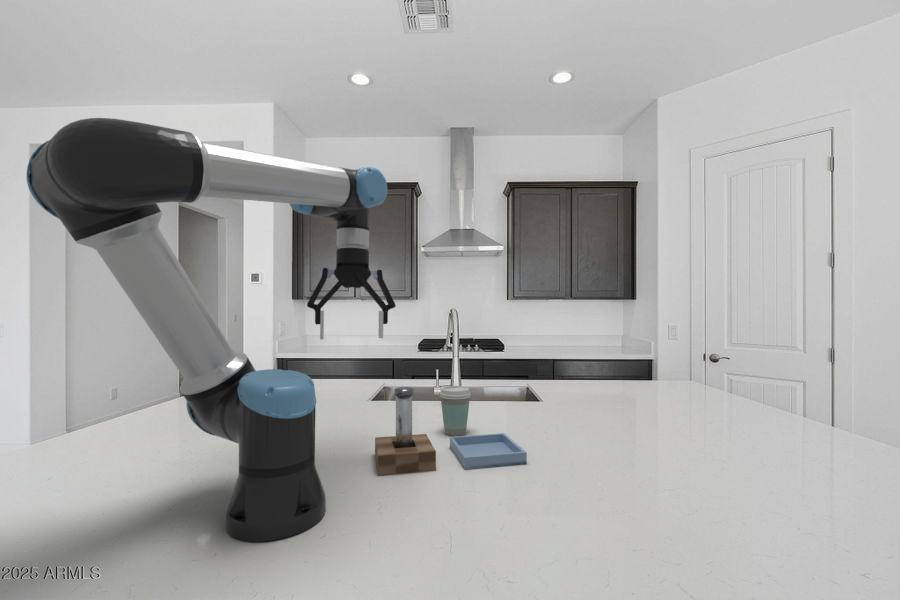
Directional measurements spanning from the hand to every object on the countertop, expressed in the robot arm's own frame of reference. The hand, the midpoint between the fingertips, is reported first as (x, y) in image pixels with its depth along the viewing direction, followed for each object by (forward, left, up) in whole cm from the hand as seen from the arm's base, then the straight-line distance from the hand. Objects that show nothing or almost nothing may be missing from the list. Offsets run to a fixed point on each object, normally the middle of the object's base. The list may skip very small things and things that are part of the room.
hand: (351, 338), depth 100 cm
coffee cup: (+9, -27, -27) cm, 39 cm away
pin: (-9, -11, -27) cm, 30 cm away
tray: (-9, -30, -27) cm, 41 cm away
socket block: (-9, -11, -27) cm, 30 cm away
